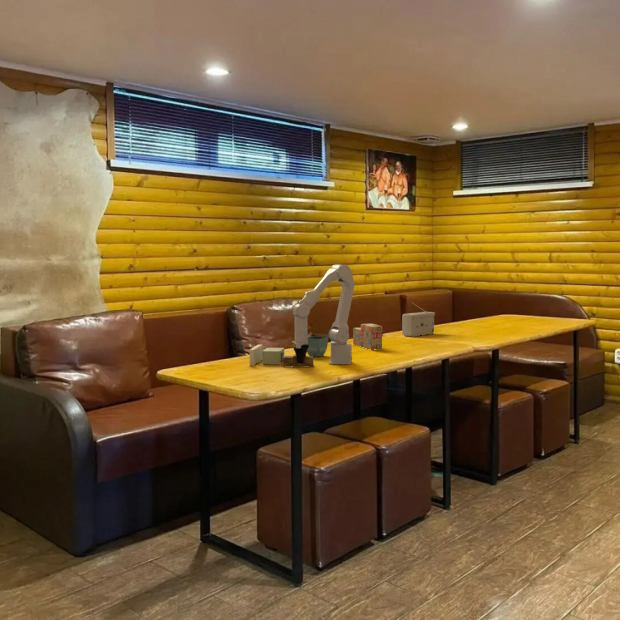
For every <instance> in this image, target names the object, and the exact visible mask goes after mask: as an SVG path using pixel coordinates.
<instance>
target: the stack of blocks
mask: <svg viewBox="0 0 620 620" xmlns="http://www.w3.org/2000/svg"><path fill="white" fill-rule="evenodd" d="M352 333H353V335H352V340H353V343H352V344H355V345H357V346H356V347H358V346H361V347H360V348H362V347H364V348H363V349H365V348H367V349H366V350H368V349H371V350H372V351H375V350H374V349H382V350H383V326H382V325H379V324H375V323H361V324H360V327H353V328H352ZM355 345H354V346H355ZM371 350H370V351H371Z"/></svg>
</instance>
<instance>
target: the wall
mask: <svg viewBox="0 0 620 620" xmlns="http://www.w3.org/2000/svg"><path fill="white" fill-rule="evenodd" d="M262 351H263V344H257V345H255V346H253V347H252V348H250V349H249V366H256V365H257V364H258V363H260V362H262ZM259 361H260V362H259ZM256 363H257V364H256ZM255 364H256V365H255Z"/></svg>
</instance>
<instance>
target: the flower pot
mask: <svg viewBox="0 0 620 620" xmlns="http://www.w3.org/2000/svg"><path fill="white" fill-rule="evenodd" d="M328 342H329V336H314V335H313V336H308V344H305V345H309V347H308V349H307V353H306V354H307V355H308V356H315V357H316V358H319V356H320V357H324V356H325V354H326V352H327V350H328ZM315 357H314V358H315Z"/></svg>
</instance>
